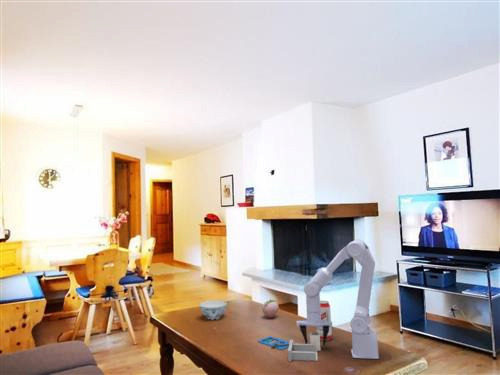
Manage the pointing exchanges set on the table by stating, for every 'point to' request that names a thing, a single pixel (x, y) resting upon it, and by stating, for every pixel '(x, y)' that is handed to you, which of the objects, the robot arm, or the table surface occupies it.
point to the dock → (302, 352)
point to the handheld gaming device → (274, 342)
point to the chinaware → (213, 309)
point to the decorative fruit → (270, 308)
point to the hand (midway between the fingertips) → (315, 344)
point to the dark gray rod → (280, 345)
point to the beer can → (325, 319)
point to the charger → (315, 339)
